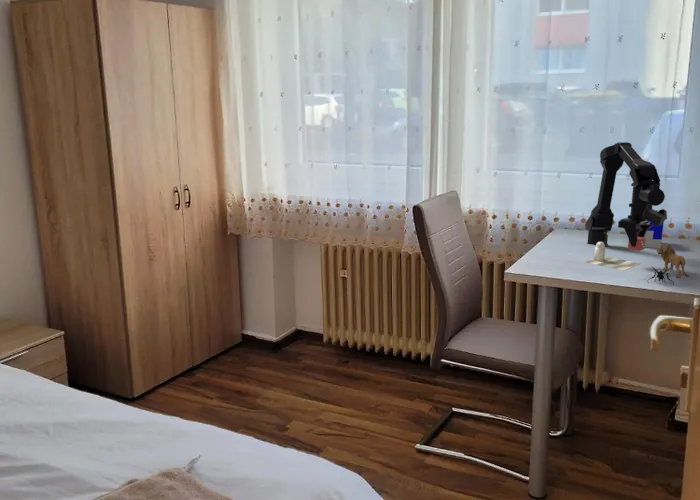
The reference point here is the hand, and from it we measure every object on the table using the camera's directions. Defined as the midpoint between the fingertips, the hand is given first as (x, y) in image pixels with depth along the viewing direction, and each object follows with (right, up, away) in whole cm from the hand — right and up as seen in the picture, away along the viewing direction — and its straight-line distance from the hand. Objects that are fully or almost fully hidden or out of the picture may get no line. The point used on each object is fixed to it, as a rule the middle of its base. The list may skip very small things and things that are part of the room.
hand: (636, 245), depth 233 cm
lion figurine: (+10, -9, -4) cm, 14 cm away
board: (-6, -7, +6) cm, 11 cm away
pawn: (-10, -5, +9) cm, 14 cm away
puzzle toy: (+18, +1, +36) cm, 40 cm away
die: (0, -1, 0) cm, 1 cm away
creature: (+1, -13, -15) cm, 20 cm away
